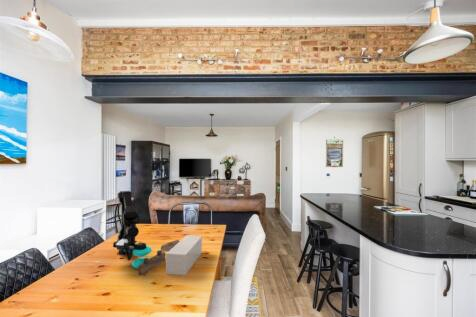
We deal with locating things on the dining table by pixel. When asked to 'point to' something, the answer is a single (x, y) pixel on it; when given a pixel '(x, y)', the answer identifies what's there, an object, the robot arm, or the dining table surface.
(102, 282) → the dining table surface
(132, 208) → the robot arm
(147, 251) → the donuts
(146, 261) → the bar
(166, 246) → the wooden fragment
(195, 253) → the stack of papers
